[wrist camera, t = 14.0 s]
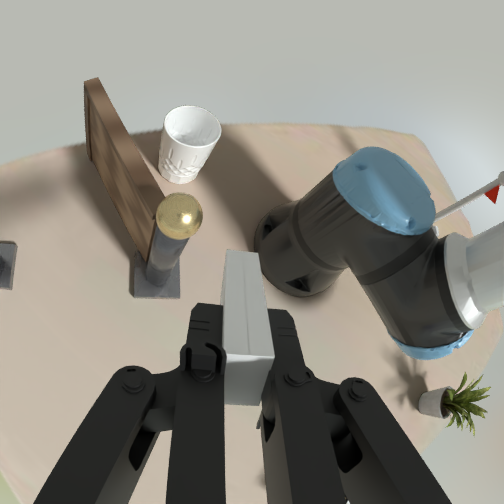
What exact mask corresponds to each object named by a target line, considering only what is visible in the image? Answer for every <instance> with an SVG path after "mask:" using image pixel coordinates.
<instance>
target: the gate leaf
mask: <svg viewBox="0 0 504 504" xmlns="http://www.w3.org/2000/svg"><path fill="white" fill-rule="evenodd" d="M84 107H85V108H84V111H85V131H86V144H87V154H88V157H89V159H90V161H94V164H95V166H96V168H97V170H98V172H99V174H100V177H101V179H102V181H103V183H104V185H105V187H106V189H107V191H108V193H109V195H110V197H111V199H112V201H113V203H114V205H115V207H116V209H117V211H118V213H119V215H120V217H121V219H122V220H123V222H124V224H125V226H126V228H127V230H128V232H129V233H130V235H131V237H132V239H133V241H134V243H135V244H136V246H137V248H138V250H139V251H140V253H141V255H142V257H143V258H144V260H145V262H147V261H149V256H150V252H151V247H152V243H153V239H154V235H155V231H156V227H157V221H156V211H157V208H158V206H159V204H160V202H161V201H162V200H163V199H164V198H165V196H164V194H163V192H162V191H161V189H160V187H159V186H158V184H157V182H156V181H155V179H154V177H153V176H152V174H151V172H150V171H149V169H148V167H147V165H146V164H145V162H144V160H143V158H142V157H141V155H140V153H139V151H138V150H137V148H136V146H135V144H134V143H133V141H132V139H131V137H130V136H129V134H128V132H127V130H126V129H125V127H124V125H123V123H122V121H121V119H120V118H119V116H118V114H117V112H116V110H115V108H114V107H113V105H112V103H111V101H110V99H109V97H108V95H107V93H106V92H105V90H104V88H103V86H102V84H101V82H100V80H99V78H94V79H90V80H87V81H84Z"/></svg>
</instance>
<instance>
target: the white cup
mask: <svg viewBox="0 0 504 504" xmlns="http://www.w3.org/2000/svg"><path fill="white" fill-rule="evenodd" d="M220 135H221V125H220V123H219V121H218V119H217V118H216V117H215V116H214V115H213V114H212V113H210V112H209V111H207V110H206V109H203V108H201V107H197V106H191V105H185V106H180V107H177V108H174V109H172V110H171V111H170V112H169V113H168V114H167V115H166V117H165V119H164V125H163V130H162V135H161V141H160V149H159V160H158V169H159V171H160V173H161V175H162V177H164V178H165V179H166V180H168V181H169V182H172V183H176V184H183V183H188V182H190V181H192V180H193V179H195V178H196V176H197V174H198V172H199V171H200V169H201V168H202V167H203V165H204V163H205V162H206V160H207V158H208V157H209V155H210V153H211V151H212V150H213V148H214V146H215V144H216V143H217V141H218V139H219V138H220Z"/></svg>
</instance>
